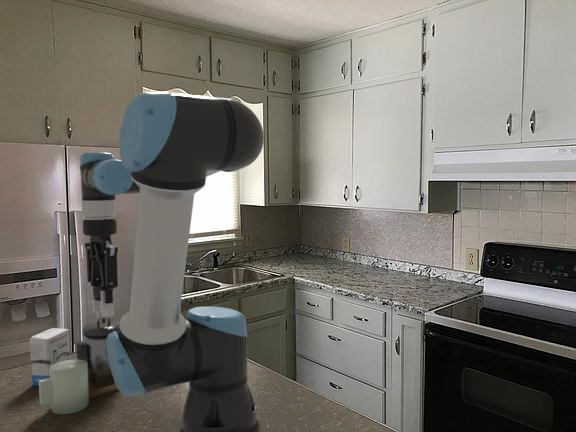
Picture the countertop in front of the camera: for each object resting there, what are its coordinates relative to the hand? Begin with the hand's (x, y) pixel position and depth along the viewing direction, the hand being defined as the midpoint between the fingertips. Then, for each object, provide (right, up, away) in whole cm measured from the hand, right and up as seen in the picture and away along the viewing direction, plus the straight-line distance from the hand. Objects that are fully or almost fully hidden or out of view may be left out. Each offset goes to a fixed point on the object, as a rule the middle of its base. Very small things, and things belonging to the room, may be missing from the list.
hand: (103, 313), depth 119 cm
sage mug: (-4, -18, -12) cm, 22 cm away
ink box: (-14, -17, +3) cm, 22 cm away
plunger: (0, -2, 0) cm, 2 cm away
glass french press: (0, -17, +1) cm, 17 cm away
